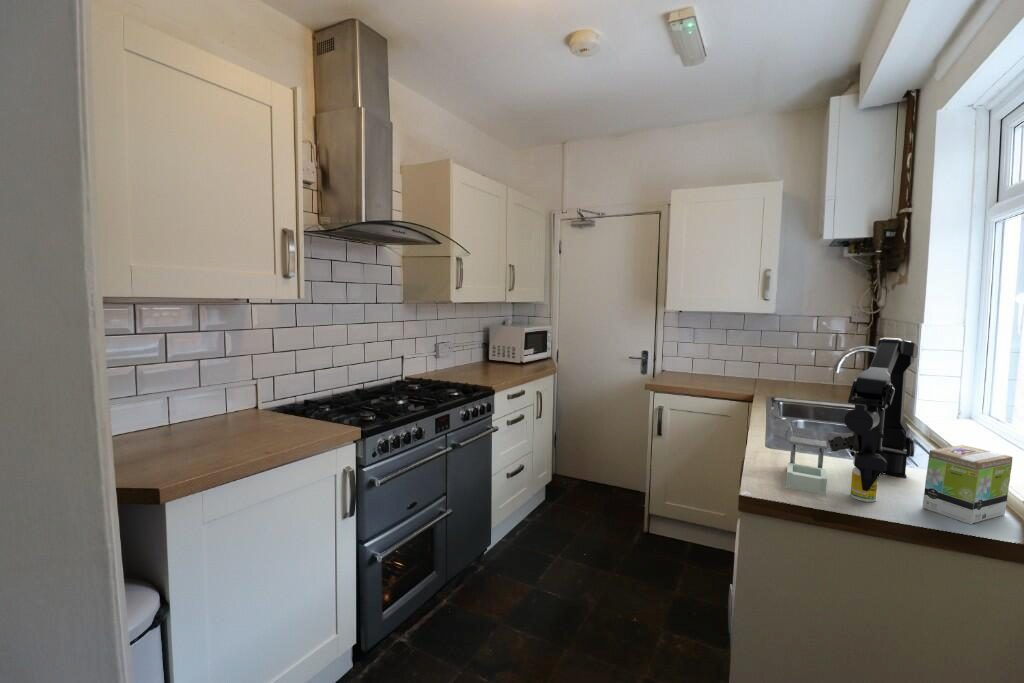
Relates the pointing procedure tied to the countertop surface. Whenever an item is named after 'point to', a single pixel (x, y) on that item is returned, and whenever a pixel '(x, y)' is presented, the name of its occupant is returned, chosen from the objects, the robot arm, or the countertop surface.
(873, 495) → the supplement bottle
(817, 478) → the socket block
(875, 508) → the countertop surface
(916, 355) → the robot arm
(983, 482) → the tea box
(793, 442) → the grey frame
